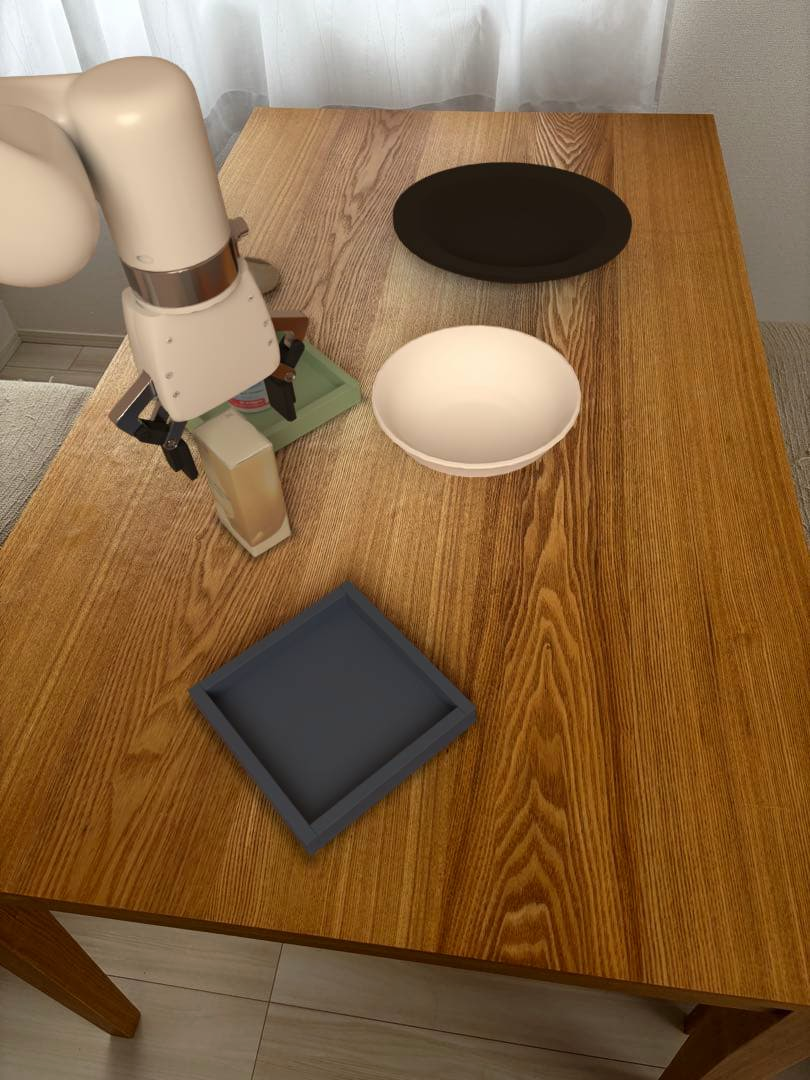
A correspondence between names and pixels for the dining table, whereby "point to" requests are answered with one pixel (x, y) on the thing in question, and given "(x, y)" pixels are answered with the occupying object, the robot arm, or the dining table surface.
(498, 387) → the bowl
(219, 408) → the sage tray
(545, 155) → the dining table surface
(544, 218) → the plate
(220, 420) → the cosmetic box
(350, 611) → the slate tray
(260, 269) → the seashell
